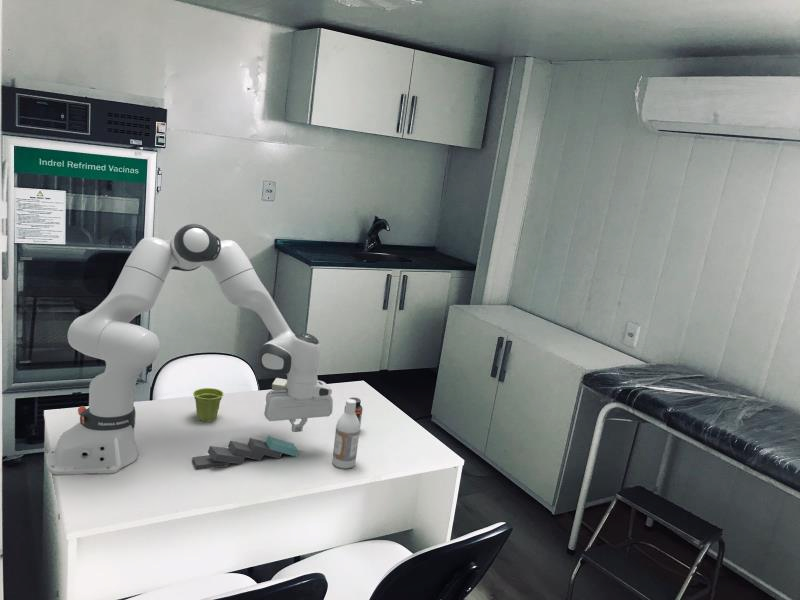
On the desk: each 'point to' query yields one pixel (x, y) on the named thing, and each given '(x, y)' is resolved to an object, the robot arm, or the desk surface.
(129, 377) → the robot arm
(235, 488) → the desk surface
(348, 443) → the bath foam
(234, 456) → the domino
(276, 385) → the skincare box
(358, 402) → the supplement bottle
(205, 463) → the domino
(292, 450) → the domino
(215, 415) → the plant pot
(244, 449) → the domino
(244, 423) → the desk surface
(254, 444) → the domino
